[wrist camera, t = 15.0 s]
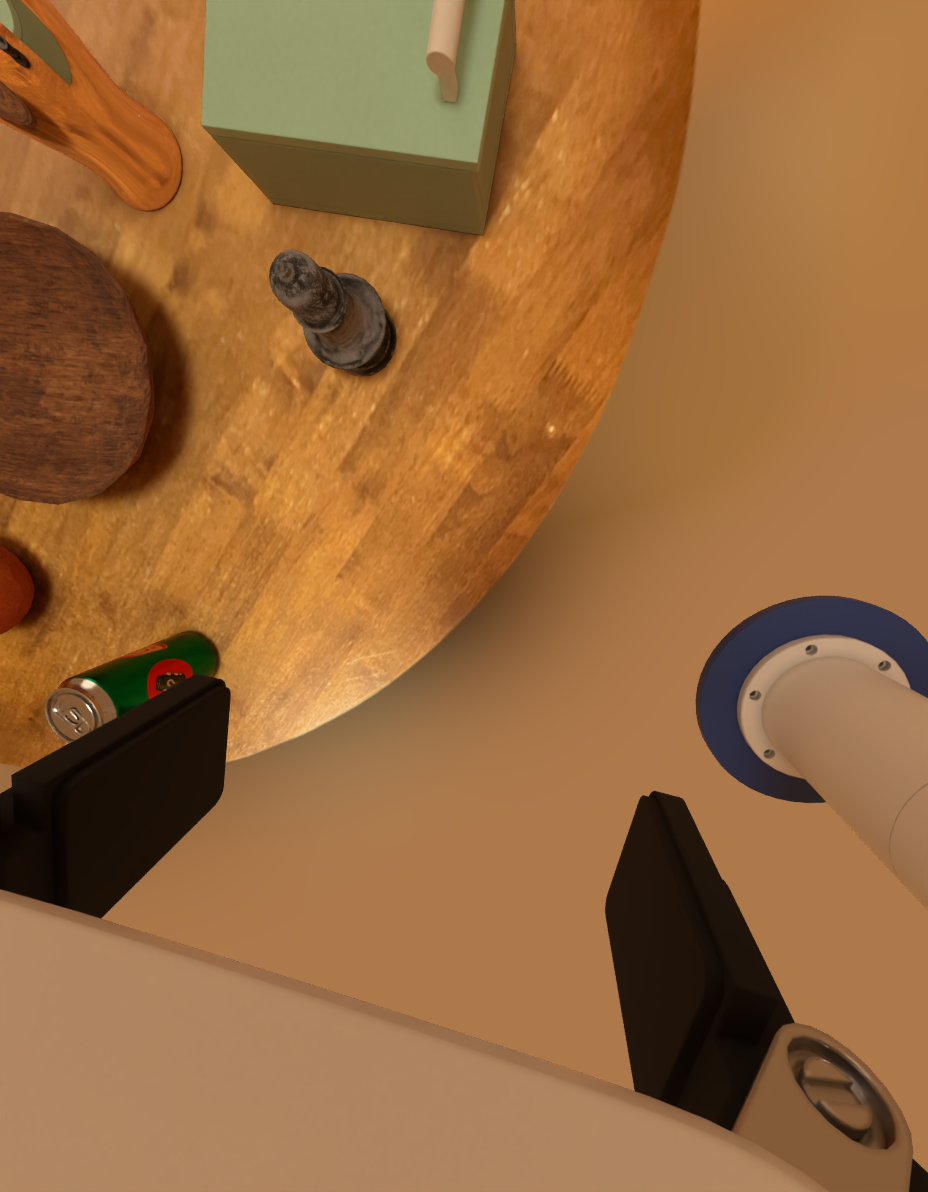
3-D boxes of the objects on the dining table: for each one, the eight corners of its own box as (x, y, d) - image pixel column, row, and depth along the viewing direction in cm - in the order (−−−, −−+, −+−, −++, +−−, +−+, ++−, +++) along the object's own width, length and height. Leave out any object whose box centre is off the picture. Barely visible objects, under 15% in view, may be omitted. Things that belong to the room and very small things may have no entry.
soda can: (194, 619, 43) (67, 668, 31) (230, 662, 43) (119, 727, 31) (159, 650, 44) (25, 708, 32) (195, 691, 44) (76, 763, 33)
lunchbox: (516, 45, 30) (511, -79, 23) (483, 235, 32) (470, 172, 26) (287, 19, 31) (221, -104, 25) (272, 203, 34) (210, 136, 27)
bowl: (189, 526, 41) (143, 531, 36) (-34, 471, 42) (-106, 470, 38) (205, 271, 36) (154, 238, 31) (-47, 223, 38) (-133, 184, 33)
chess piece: (374, 396, 36) (299, 352, 24) (311, 352, 36) (205, 287, 24) (414, 323, 34) (354, 239, 23) (348, 277, 34) (254, 170, 23)
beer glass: (169, 236, 35) (-82, 63, 21) (91, 189, 35) (-214, -18, 21) (202, 137, 34) (-49, -129, 19) (119, 86, 34) (-193, -217, 19)
